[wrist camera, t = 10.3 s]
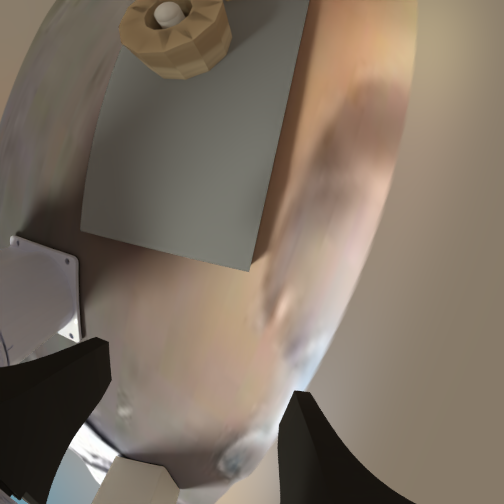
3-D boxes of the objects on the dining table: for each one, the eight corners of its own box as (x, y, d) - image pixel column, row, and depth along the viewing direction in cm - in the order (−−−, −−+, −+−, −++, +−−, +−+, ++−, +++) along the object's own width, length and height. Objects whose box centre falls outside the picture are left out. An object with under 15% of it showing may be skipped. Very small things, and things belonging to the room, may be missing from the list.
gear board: (91, 227, 18) (35, 243, 12) (181, -45, 12) (163, -83, 6) (250, 265, 18) (241, 303, 12) (317, -37, 12) (327, -81, 6)
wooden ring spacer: (136, 78, 14) (105, 56, 10) (162, 14, 13) (141, -16, 9) (218, 82, 14) (203, 53, 10) (240, 15, 12) (232, -22, 9)
